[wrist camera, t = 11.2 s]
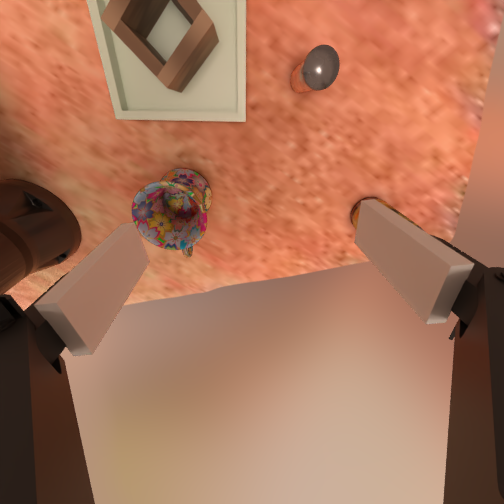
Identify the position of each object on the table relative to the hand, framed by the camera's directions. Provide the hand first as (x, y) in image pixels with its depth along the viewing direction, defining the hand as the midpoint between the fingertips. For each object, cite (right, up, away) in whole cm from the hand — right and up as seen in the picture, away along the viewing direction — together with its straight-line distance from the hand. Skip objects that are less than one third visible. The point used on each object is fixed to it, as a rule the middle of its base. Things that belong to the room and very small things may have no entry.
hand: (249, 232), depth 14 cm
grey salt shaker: (+7, +22, +17) cm, 29 cm away
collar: (-9, +25, +14) cm, 30 cm away
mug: (-11, +8, +25) cm, 29 cm away
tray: (-9, +25, +15) cm, 30 cm away
